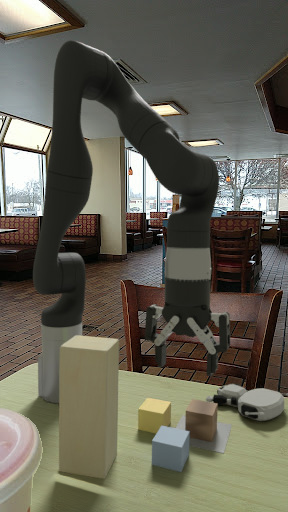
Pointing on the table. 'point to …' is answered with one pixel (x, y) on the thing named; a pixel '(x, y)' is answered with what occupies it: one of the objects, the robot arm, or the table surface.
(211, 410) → the brick walnut
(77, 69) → the robot arm
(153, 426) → the yellow cube
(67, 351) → the cream tall block
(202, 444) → the base plate
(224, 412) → the table surface
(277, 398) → the robot toy
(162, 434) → the brick blue
